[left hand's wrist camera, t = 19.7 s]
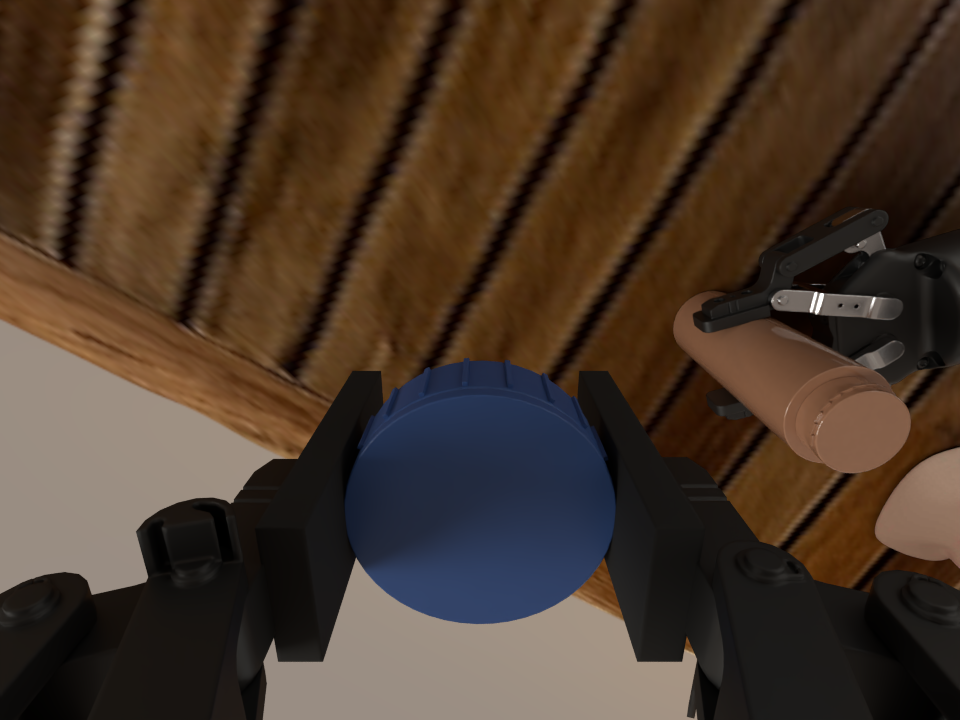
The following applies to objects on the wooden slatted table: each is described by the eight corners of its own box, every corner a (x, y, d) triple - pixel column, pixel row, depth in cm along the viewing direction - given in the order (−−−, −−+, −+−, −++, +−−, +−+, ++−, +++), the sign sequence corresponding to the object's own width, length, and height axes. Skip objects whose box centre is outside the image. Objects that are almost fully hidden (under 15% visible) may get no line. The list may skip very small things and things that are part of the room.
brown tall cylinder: (741, 284, 37) (928, 369, 21) (744, 349, 39) (919, 472, 23) (670, 298, 37) (804, 392, 22) (676, 362, 39) (804, 492, 23)
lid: (314, 483, 12) (286, 537, 10) (460, 305, 11) (457, 332, 9) (496, 599, 13) (498, 664, 12) (649, 453, 12) (678, 503, 10)
